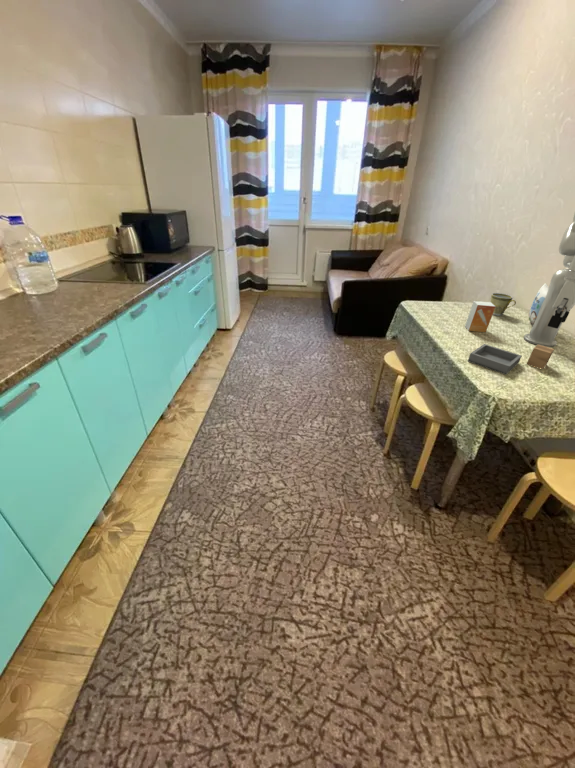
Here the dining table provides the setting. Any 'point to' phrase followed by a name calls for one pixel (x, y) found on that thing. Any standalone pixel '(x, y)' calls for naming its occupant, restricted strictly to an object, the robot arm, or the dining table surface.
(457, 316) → the dining table surface
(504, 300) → the ceramic cup
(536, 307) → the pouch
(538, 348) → the wooden block
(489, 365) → the tray
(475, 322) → the small box
